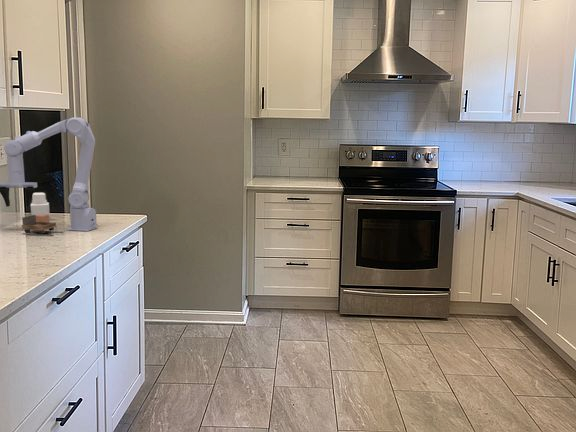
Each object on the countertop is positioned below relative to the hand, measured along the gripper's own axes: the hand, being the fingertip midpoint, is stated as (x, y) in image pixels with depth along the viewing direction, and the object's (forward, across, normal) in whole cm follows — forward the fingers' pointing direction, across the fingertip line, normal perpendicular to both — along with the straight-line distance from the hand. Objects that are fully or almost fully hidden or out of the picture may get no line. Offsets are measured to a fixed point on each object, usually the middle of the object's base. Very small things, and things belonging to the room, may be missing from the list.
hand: (18, 206), depth 225 cm
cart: (+10, -9, +8) cm, 15 cm away
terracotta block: (+10, -7, -5) cm, 13 cm away
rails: (+10, -11, +8) cm, 17 cm away
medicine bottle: (+10, -2, -23) cm, 25 cm away
